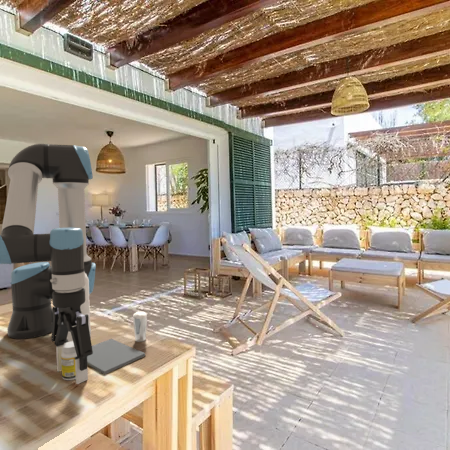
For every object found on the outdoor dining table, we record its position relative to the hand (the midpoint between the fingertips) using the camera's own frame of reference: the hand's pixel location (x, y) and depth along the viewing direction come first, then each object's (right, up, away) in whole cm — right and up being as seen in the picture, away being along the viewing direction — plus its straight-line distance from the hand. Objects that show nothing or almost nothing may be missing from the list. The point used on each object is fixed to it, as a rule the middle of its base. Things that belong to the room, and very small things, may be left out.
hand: (72, 375), depth 85 cm
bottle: (-8, +1, +22) cm, 23 cm away
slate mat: (+5, +1, +11) cm, 12 cm away
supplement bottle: (0, 0, 0) cm, 0 cm away
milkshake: (+12, +1, +22) cm, 25 cm away
